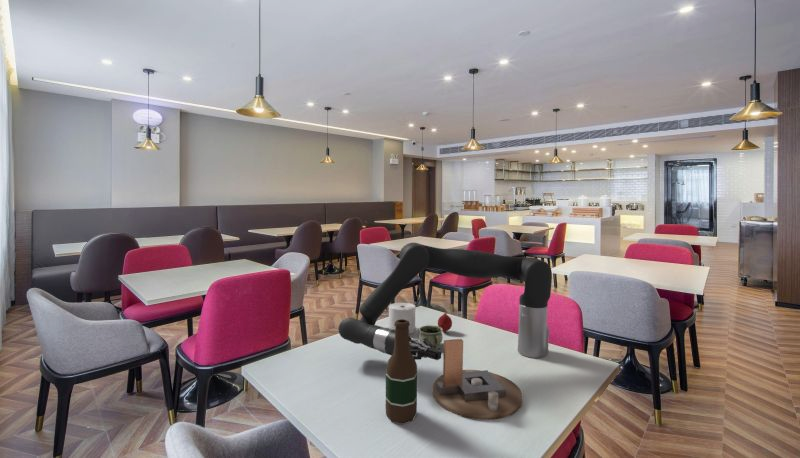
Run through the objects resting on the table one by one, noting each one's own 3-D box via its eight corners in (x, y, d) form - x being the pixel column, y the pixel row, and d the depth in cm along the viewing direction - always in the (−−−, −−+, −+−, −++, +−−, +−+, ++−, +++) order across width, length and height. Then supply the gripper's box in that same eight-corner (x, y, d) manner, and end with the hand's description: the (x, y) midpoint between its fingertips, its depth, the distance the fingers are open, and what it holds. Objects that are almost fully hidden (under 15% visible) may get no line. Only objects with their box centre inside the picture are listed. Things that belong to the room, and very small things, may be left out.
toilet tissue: (410, 336, 149) (411, 311, 148) (382, 332, 153) (382, 308, 152) (418, 327, 159) (418, 303, 158) (391, 324, 163) (391, 301, 162)
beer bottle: (384, 407, 99) (385, 316, 97) (414, 406, 99) (416, 315, 97) (386, 425, 91) (386, 326, 89) (418, 423, 91) (420, 325, 89)
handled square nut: (487, 376, 112) (488, 330, 111) (505, 396, 101) (507, 345, 100) (432, 382, 108) (432, 334, 107) (445, 403, 97) (446, 349, 96)
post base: (490, 369, 121) (490, 352, 120) (541, 409, 98) (542, 389, 97) (419, 381, 113) (419, 363, 112) (457, 427, 90) (458, 405, 90)
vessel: (449, 349, 136) (449, 332, 136) (427, 353, 133) (427, 336, 132) (433, 338, 147) (433, 322, 147) (412, 341, 144) (412, 325, 143)
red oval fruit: (451, 335, 150) (451, 315, 150) (436, 334, 152) (437, 314, 151) (452, 330, 156) (452, 311, 155) (438, 329, 157) (438, 310, 157)
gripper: (405, 347, 121) (452, 361, 110) (377, 360, 111) (425, 377, 100) (405, 324, 121) (452, 335, 110) (376, 335, 111) (425, 349, 100)
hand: (439, 355), depth 105 cm, fingers closed
